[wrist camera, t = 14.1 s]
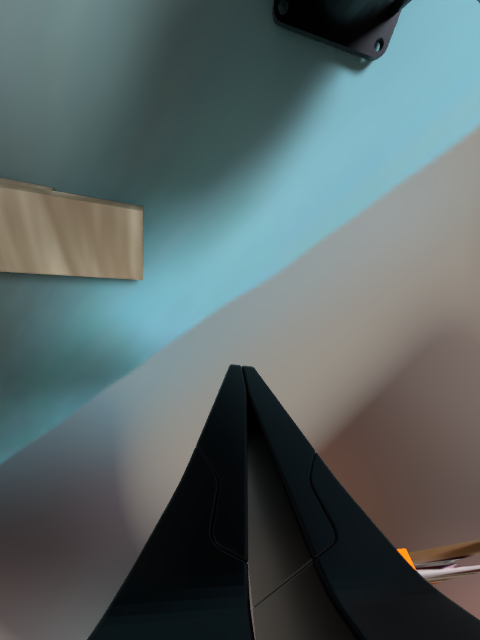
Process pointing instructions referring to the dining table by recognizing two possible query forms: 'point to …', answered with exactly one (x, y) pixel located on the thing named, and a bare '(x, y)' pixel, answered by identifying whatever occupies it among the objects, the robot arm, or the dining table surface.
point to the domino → (69, 234)
